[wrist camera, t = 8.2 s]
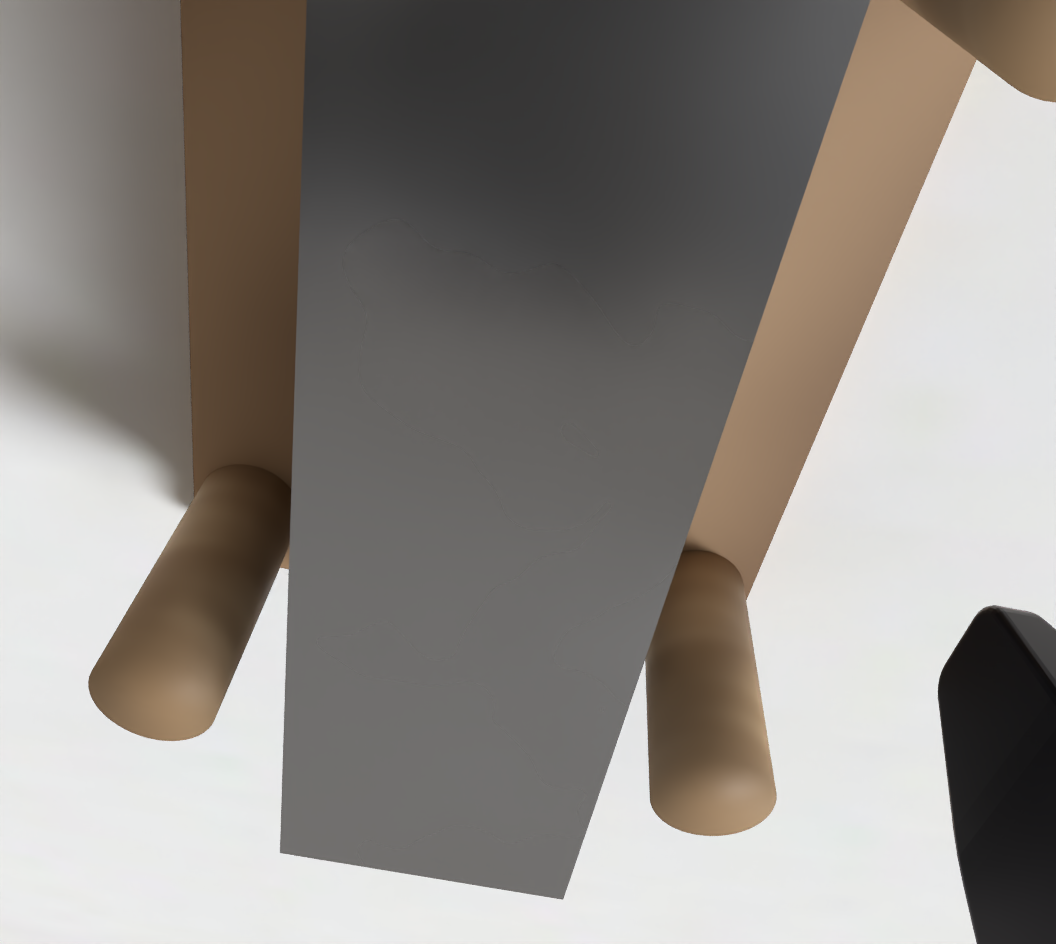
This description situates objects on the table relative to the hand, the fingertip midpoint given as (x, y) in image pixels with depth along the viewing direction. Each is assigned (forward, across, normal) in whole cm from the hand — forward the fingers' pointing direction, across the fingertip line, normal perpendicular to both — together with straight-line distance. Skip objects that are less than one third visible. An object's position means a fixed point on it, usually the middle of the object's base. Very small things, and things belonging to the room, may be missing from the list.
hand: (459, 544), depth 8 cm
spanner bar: (+6, 0, 0) cm, 6 cm away
